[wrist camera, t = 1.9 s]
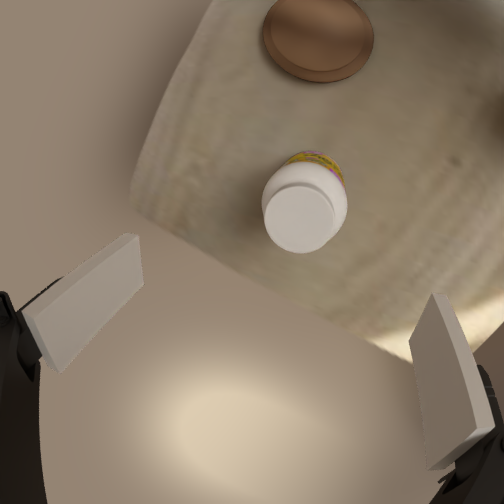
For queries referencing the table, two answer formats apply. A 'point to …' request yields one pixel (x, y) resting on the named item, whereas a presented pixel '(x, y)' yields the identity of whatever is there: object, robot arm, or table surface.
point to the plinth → (318, 38)
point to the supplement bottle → (304, 202)
